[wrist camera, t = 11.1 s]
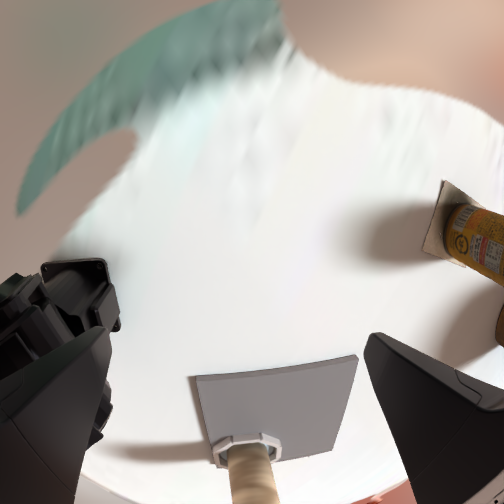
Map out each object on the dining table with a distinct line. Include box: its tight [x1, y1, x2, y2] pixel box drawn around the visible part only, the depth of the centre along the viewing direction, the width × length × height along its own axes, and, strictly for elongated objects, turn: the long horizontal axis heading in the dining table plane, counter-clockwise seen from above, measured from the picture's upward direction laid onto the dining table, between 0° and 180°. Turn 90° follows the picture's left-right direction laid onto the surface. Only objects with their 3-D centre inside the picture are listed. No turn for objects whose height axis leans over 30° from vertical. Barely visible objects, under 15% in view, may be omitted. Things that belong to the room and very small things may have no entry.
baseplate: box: [196, 355, 359, 469], centre depth 28 cm, size 16×18×2 cm
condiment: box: [422, 180, 504, 287], centre depth 19 cm, size 7×8×12 cm
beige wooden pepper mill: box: [226, 442, 280, 504], centre depth 22 cm, size 5×5×15 cm
